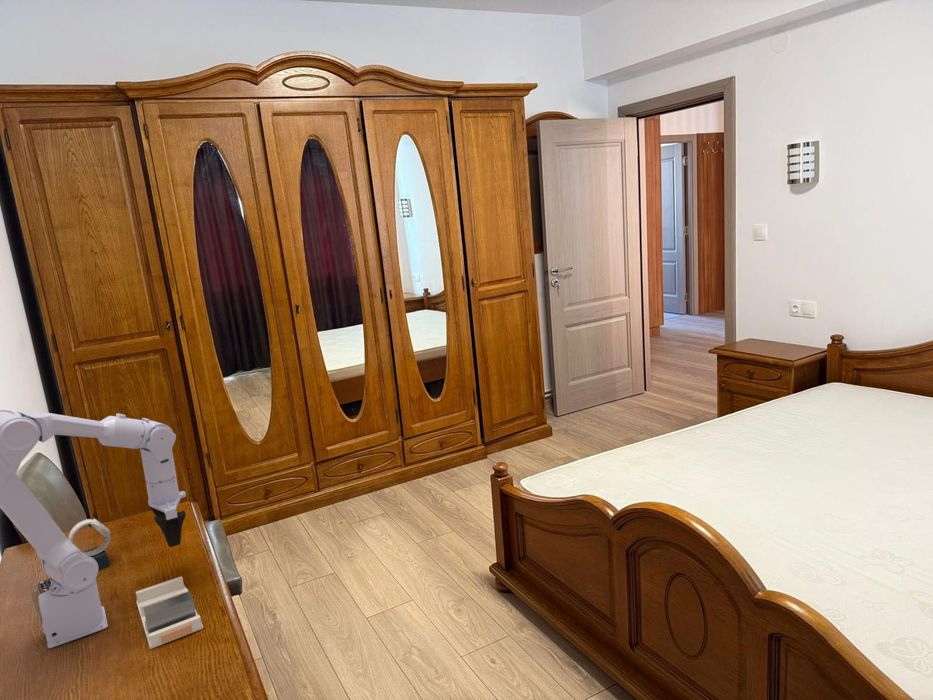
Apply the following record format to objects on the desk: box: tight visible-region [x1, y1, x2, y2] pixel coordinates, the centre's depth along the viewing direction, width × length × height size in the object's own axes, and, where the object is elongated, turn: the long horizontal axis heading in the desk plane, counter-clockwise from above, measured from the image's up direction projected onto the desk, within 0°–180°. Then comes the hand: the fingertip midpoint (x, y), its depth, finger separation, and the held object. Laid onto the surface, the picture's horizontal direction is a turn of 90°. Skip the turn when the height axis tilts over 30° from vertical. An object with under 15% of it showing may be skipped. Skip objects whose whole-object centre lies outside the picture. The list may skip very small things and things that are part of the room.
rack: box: [135, 575, 204, 650], centre depth 119 cm, size 9×18×2 cm, turn 35°
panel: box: [143, 590, 196, 635], centre depth 114 cm, size 8×3×5 cm, turn 125°
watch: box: [67, 518, 112, 572], centre depth 138 cm, size 6×8×11 cm
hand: (171, 538), depth 130 cm, fingers open, 7 cm apart
